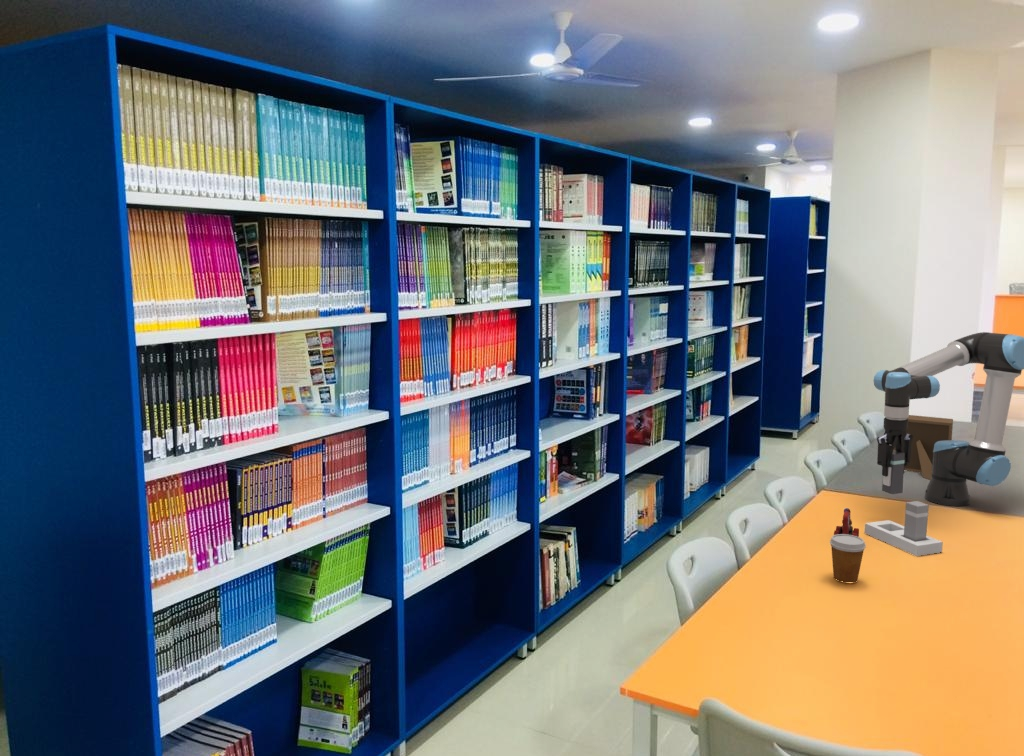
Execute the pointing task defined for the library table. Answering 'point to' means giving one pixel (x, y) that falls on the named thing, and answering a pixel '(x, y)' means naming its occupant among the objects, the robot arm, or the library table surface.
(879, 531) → the white slotted plate
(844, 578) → the disposable coffee cup
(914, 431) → the photo frame
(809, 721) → the library table surface
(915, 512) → the grey square plug
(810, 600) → the library table surface
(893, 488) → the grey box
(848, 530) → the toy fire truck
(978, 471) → the robot arm
